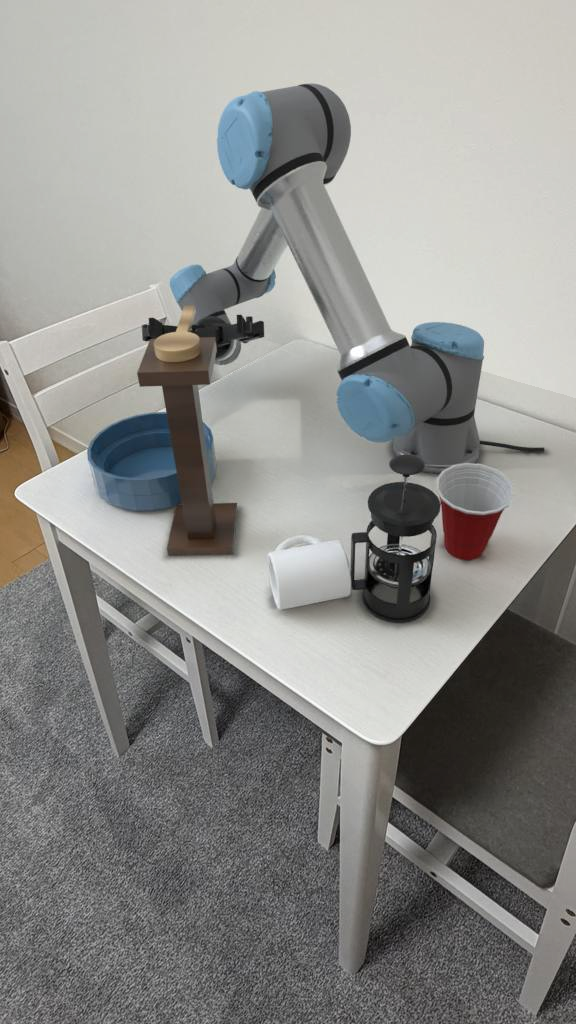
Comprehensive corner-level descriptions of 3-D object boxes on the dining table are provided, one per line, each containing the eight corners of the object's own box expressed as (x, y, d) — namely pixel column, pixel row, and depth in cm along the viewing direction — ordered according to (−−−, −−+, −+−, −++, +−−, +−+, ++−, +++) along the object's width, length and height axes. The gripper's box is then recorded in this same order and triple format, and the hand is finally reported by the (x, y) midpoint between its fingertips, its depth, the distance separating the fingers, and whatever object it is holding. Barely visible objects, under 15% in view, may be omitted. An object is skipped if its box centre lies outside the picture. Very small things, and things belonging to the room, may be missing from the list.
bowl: (221, 442, 129) (217, 410, 125) (210, 512, 112) (206, 478, 108) (110, 446, 130) (102, 413, 125) (83, 515, 113) (73, 481, 109)
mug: (351, 608, 94) (352, 565, 89) (280, 622, 93) (278, 579, 88) (327, 552, 104) (327, 510, 99) (263, 564, 102) (259, 522, 97)
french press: (427, 572, 99) (443, 438, 85) (441, 620, 92) (462, 482, 78) (346, 577, 99) (349, 443, 85) (354, 626, 92) (359, 488, 78)
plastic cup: (435, 575, 99) (443, 510, 91) (422, 527, 107) (429, 464, 100) (510, 572, 99) (525, 507, 91) (492, 524, 107) (504, 461, 100)
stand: (177, 511, 113) (147, 337, 94) (237, 509, 113) (219, 335, 94) (167, 556, 104) (132, 374, 85) (233, 554, 104) (211, 372, 85)
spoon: (170, 312, 101) (168, 302, 100) (210, 311, 100) (209, 300, 100) (151, 363, 88) (149, 351, 87) (198, 361, 88) (197, 350, 87)
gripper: (282, 358, 126) (276, 347, 105) (148, 362, 127) (116, 352, 106) (280, 316, 125) (275, 297, 104) (145, 320, 126) (113, 302, 105)
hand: (195, 325), depth 105 cm, fingers open, 13 cm apart
